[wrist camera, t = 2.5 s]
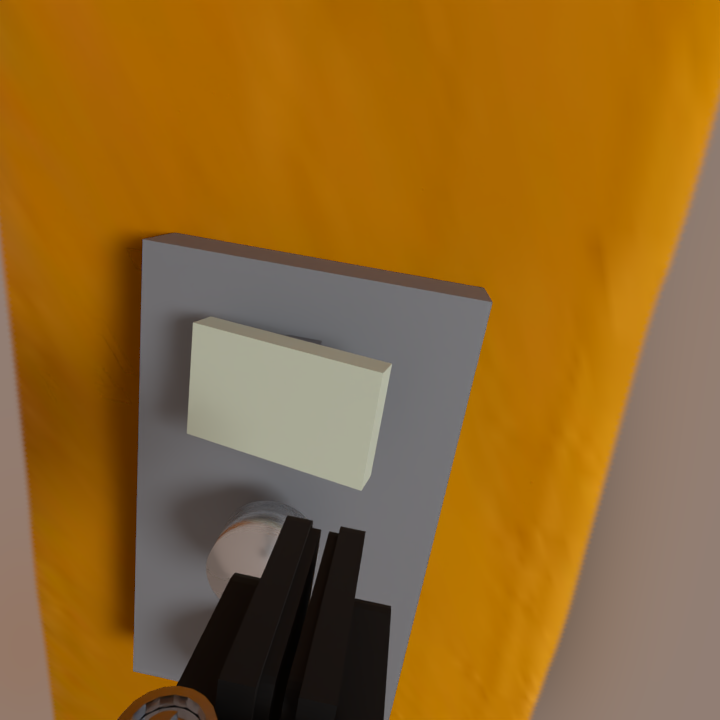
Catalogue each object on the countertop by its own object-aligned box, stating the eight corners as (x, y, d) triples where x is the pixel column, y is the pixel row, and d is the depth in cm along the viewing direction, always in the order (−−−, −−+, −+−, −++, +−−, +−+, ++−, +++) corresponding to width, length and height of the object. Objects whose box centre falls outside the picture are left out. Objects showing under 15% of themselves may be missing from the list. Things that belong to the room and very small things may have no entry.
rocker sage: (210, 316, 18) (192, 322, 17) (392, 363, 16) (383, 373, 15) (203, 422, 19) (186, 433, 18) (370, 475, 18) (361, 491, 17)
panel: (174, 232, 20) (127, 242, 17) (484, 287, 20) (496, 309, 16) (158, 628, 27) (121, 690, 24) (389, 679, 26) (385, 750, 23)
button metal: (228, 492, 19) (209, 521, 17) (325, 511, 19) (316, 544, 17) (221, 571, 20) (202, 606, 19) (312, 590, 20) (302, 628, 18)
